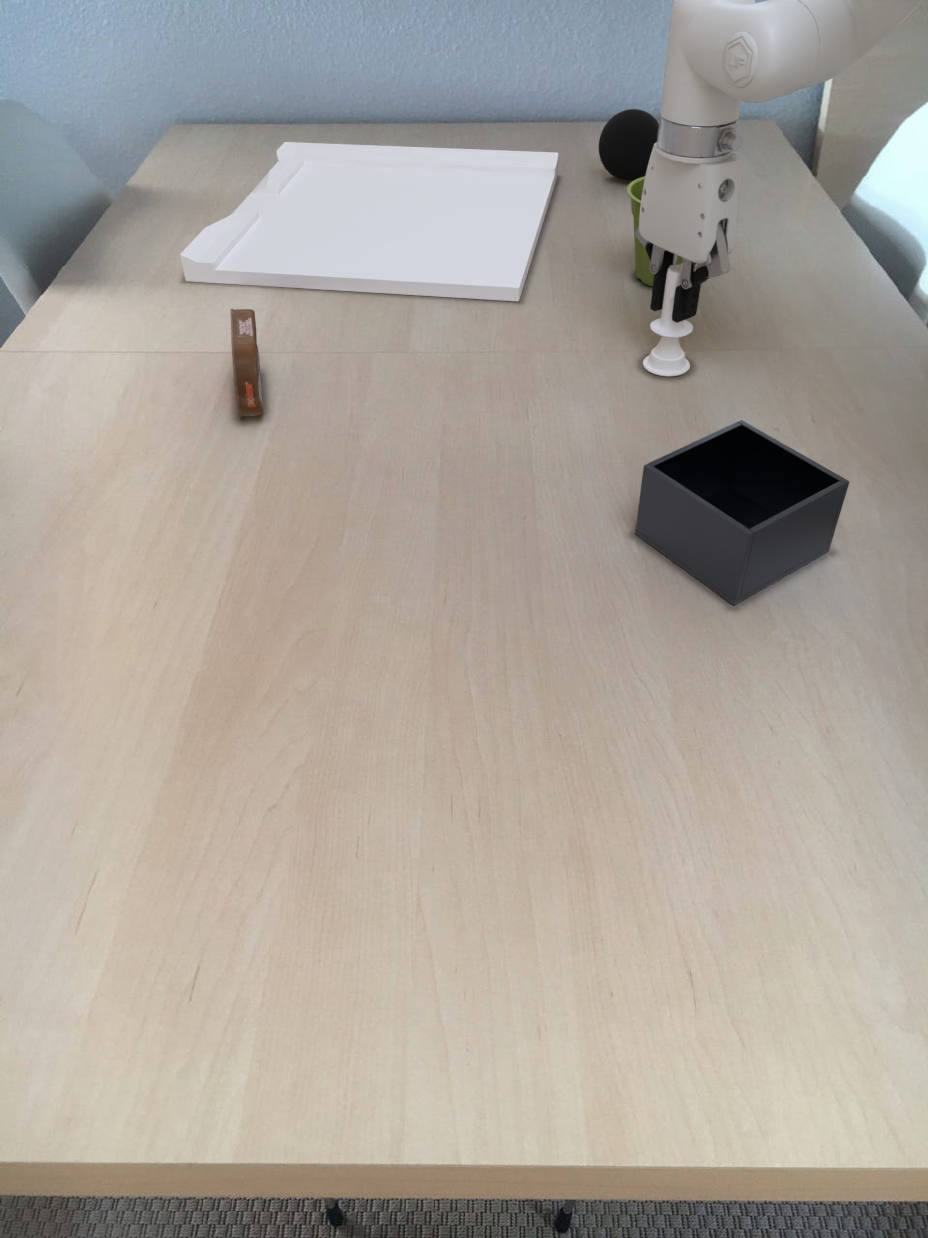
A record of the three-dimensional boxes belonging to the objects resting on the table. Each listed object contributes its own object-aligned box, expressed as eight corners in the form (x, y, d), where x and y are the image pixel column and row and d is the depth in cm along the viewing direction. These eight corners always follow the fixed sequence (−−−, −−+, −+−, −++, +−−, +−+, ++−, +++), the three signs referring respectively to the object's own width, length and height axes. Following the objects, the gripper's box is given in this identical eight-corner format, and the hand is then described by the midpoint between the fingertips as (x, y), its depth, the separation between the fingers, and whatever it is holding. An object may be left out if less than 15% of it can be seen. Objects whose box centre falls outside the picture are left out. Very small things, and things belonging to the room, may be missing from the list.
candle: (670, 349, 116) (684, 249, 108) (699, 369, 113) (716, 267, 104) (633, 361, 114) (644, 259, 106) (661, 381, 111) (675, 278, 103)
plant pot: (626, 299, 126) (635, 209, 118) (612, 260, 134) (620, 174, 127) (718, 296, 126) (733, 206, 118) (699, 257, 135) (712, 171, 127)
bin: (728, 487, 96) (741, 419, 91) (829, 551, 89) (850, 481, 83) (634, 534, 91) (643, 465, 86) (733, 606, 83) (749, 535, 78)
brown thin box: (237, 364, 116) (224, 295, 110) (264, 361, 116) (253, 292, 110) (240, 432, 105) (225, 360, 99) (270, 429, 105) (257, 357, 99)
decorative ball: (588, 185, 155) (592, 116, 148) (606, 164, 162) (611, 97, 155) (650, 193, 152) (658, 123, 145) (666, 171, 159) (674, 103, 152)
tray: (518, 301, 126) (519, 273, 123) (185, 280, 132) (179, 254, 130) (557, 176, 158) (558, 152, 156) (288, 164, 165) (284, 141, 162)
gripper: (787, 148, 93) (752, 330, 106) (666, 107, 103) (647, 278, 115) (731, 166, 90) (701, 351, 103) (612, 122, 100) (598, 296, 112)
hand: (673, 311), depth 109 cm, fingers closed on candle, 2 cm apart
